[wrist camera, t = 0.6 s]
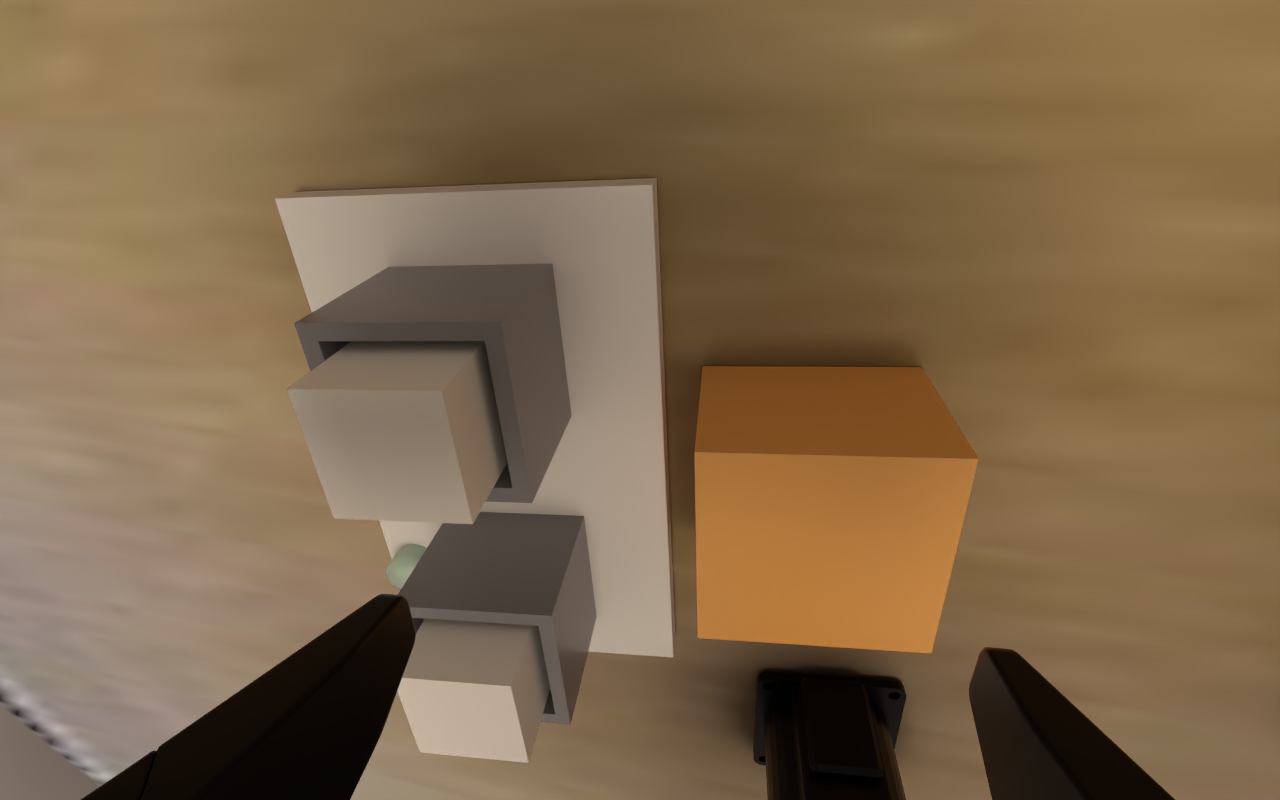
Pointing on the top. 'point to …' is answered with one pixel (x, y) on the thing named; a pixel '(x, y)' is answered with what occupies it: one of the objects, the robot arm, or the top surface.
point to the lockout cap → (826, 505)
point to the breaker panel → (522, 396)
